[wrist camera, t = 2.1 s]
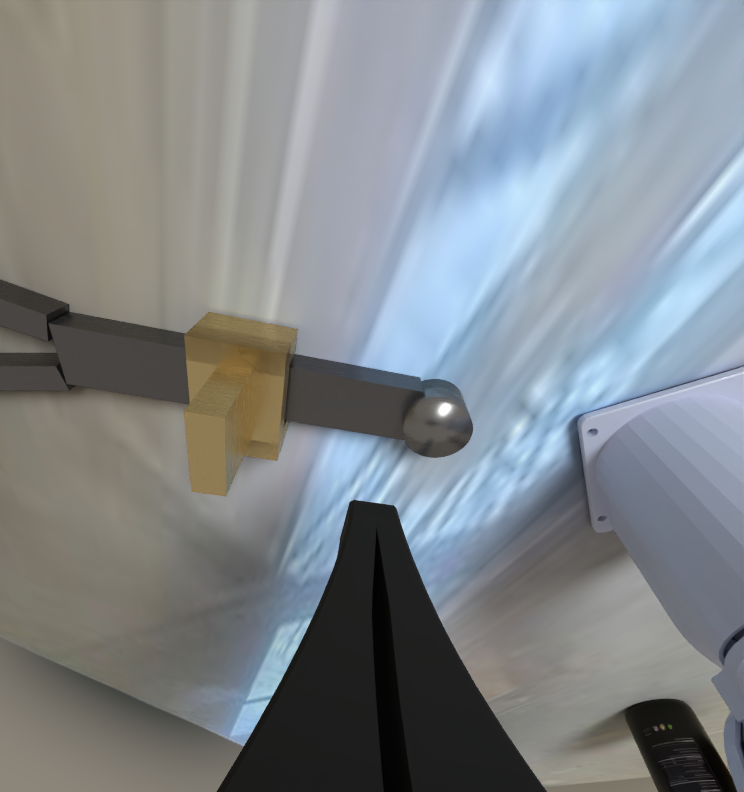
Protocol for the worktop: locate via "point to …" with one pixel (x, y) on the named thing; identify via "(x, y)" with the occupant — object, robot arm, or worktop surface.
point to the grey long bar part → (167, 376)
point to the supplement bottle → (677, 748)
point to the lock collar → (234, 396)
